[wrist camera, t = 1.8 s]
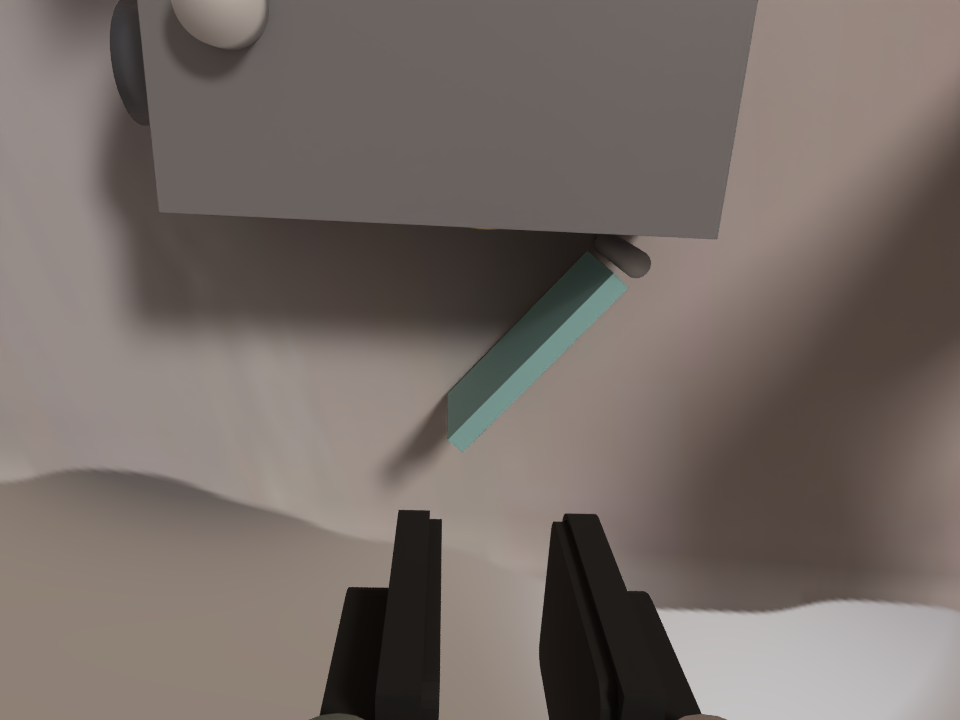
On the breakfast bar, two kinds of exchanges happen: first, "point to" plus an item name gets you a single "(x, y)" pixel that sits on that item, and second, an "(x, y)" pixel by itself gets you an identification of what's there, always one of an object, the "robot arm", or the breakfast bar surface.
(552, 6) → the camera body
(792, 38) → the breakfast bar surface
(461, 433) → the side door
